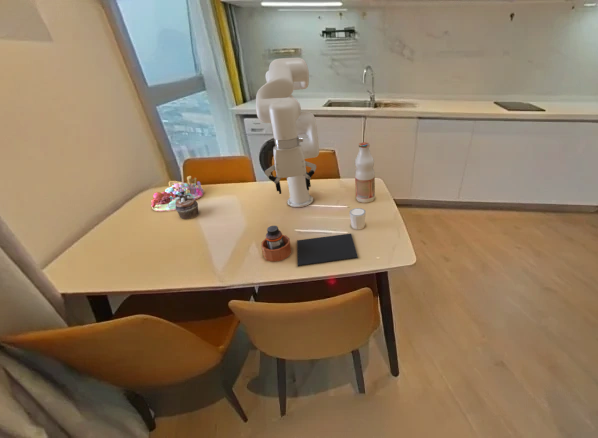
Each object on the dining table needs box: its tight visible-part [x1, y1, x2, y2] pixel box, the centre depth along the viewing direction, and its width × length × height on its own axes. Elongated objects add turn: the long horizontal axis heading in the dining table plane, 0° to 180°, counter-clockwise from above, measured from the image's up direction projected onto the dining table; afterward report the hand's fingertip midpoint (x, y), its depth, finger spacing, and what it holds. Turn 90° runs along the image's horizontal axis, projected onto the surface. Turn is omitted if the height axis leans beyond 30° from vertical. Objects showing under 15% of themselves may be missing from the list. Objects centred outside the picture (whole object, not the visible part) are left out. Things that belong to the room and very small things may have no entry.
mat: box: [296, 233, 359, 267], centre depth 122 cm, size 16×22×1 cm
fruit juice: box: [354, 141, 376, 204], centre depth 150 cm, size 9×9×28 cm
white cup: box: [349, 207, 367, 230], centre depth 134 cm, size 7×7×7 cm
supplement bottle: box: [265, 225, 284, 250], centre depth 118 cm, size 6×6×11 cm
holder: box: [260, 234, 292, 262], centre depth 120 cm, size 10×10×5 cm
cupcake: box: [175, 193, 200, 220], centre depth 147 cm, size 10×10×10 cm
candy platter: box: [150, 175, 205, 212], centre depth 162 cm, size 25×24×9 cm
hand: (294, 190), depth 111 cm, fingers open, 9 cm apart
